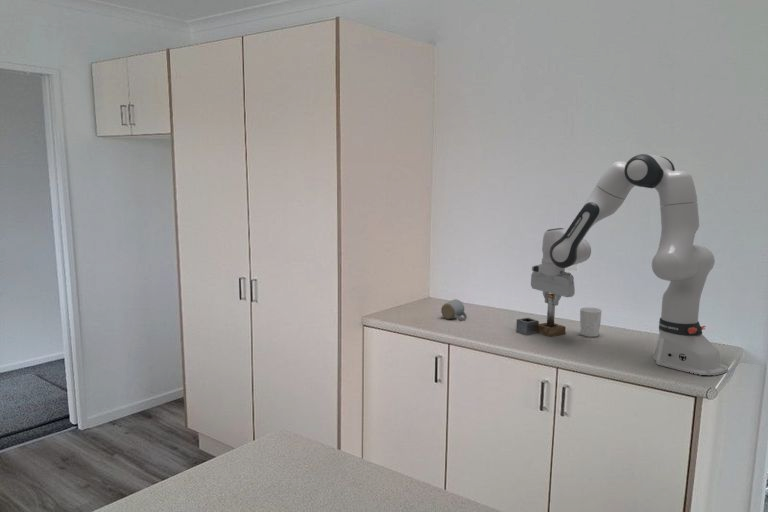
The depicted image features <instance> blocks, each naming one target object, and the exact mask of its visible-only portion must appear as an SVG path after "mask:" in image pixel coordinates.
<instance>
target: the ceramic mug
mask: <svg viewBox="0 0 768 512" xmlns="http://www.w3.org/2000/svg"><path fill="white" fill-rule="evenodd" d="M440 310H441V311H440V313H441V316H442V317H444V318H445V319H447V320H453V319H456V320H458V321H461V322H464V321H466V320H467V317H468V315H467V314H466V312H465V305H464V303H463V302H462V301H461V300H459V299H455V298H454V299H452V300H450V301H448V302H446V303H444V304H443V305H442V307H441V309H440ZM461 316H463V317H461Z"/></svg>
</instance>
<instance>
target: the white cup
mask: <svg viewBox="0 0 768 512" xmlns="http://www.w3.org/2000/svg"><path fill="white" fill-rule="evenodd" d="M579 309H580V310H579V312H580V313H579V317H580V319H579V320H580V321H579V323H580V325H579V326H580V334H581V335H582V336H584V337H590V338H591V337H593V338H594V337H598V336H599V335H600V327H601V320H602V312H603V311H602V309H600V308H596V307H588V306H586V307H585V306H584V307H581V308H579Z"/></svg>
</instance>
